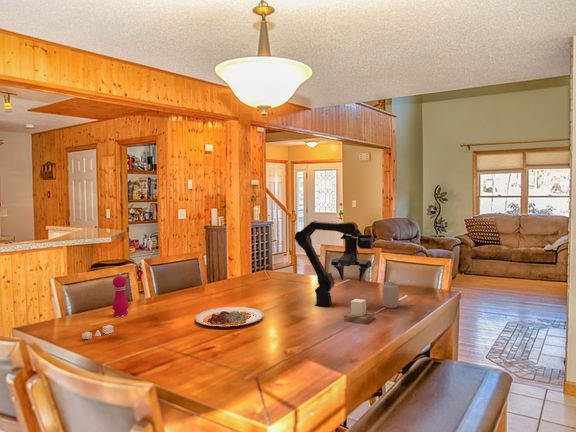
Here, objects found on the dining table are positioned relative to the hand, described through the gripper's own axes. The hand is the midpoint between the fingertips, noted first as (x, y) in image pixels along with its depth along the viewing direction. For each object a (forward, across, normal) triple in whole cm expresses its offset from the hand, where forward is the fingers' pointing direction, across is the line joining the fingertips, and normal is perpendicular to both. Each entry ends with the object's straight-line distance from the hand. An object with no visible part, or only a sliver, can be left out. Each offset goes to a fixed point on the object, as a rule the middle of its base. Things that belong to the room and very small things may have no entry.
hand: (351, 280), depth 216 cm
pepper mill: (+13, -89, -62) cm, 109 cm away
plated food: (+14, -40, -43) cm, 60 cm away
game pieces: (+13, -72, -87) cm, 113 cm away
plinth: (+14, +11, -17) cm, 24 cm away
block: (+11, +11, -17) cm, 23 cm away
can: (+13, +16, +10) cm, 23 cm away
